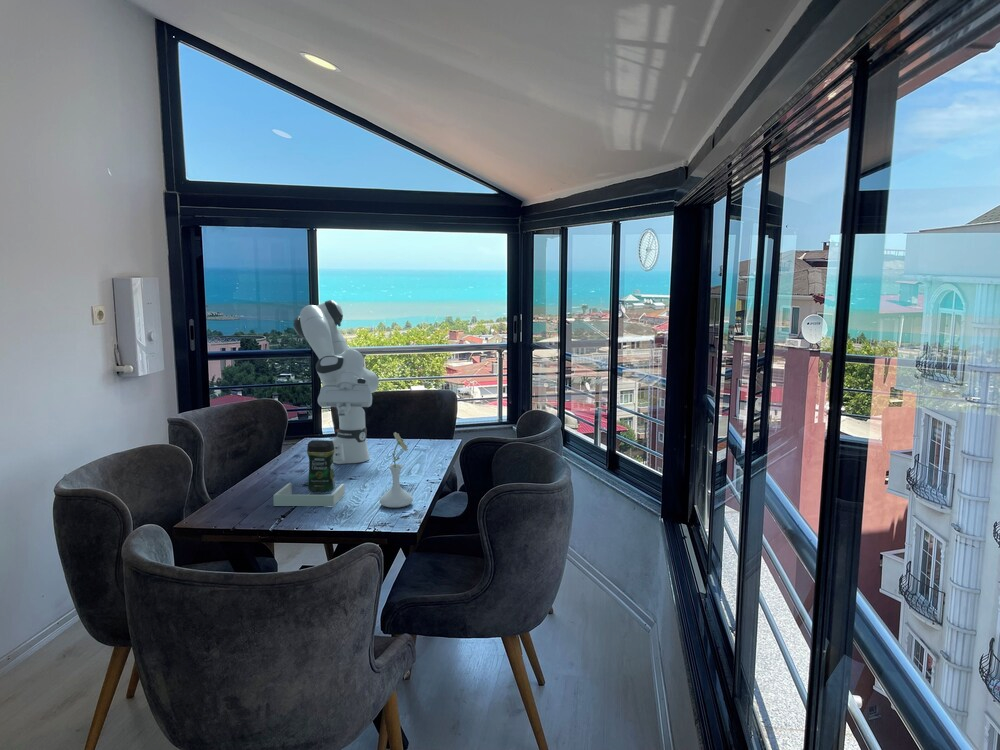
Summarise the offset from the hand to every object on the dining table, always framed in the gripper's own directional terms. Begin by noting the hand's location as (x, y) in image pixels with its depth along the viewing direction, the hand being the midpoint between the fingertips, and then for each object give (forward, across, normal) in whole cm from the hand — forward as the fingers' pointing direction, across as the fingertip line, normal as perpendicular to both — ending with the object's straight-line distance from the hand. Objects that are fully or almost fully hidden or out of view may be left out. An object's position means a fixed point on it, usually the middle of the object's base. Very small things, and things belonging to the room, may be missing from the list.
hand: (341, 414), depth 244 cm
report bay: (+32, -7, +7) cm, 33 cm away
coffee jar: (+23, -7, +16) cm, 29 cm away
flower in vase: (+35, +24, +4) cm, 42 cm away
